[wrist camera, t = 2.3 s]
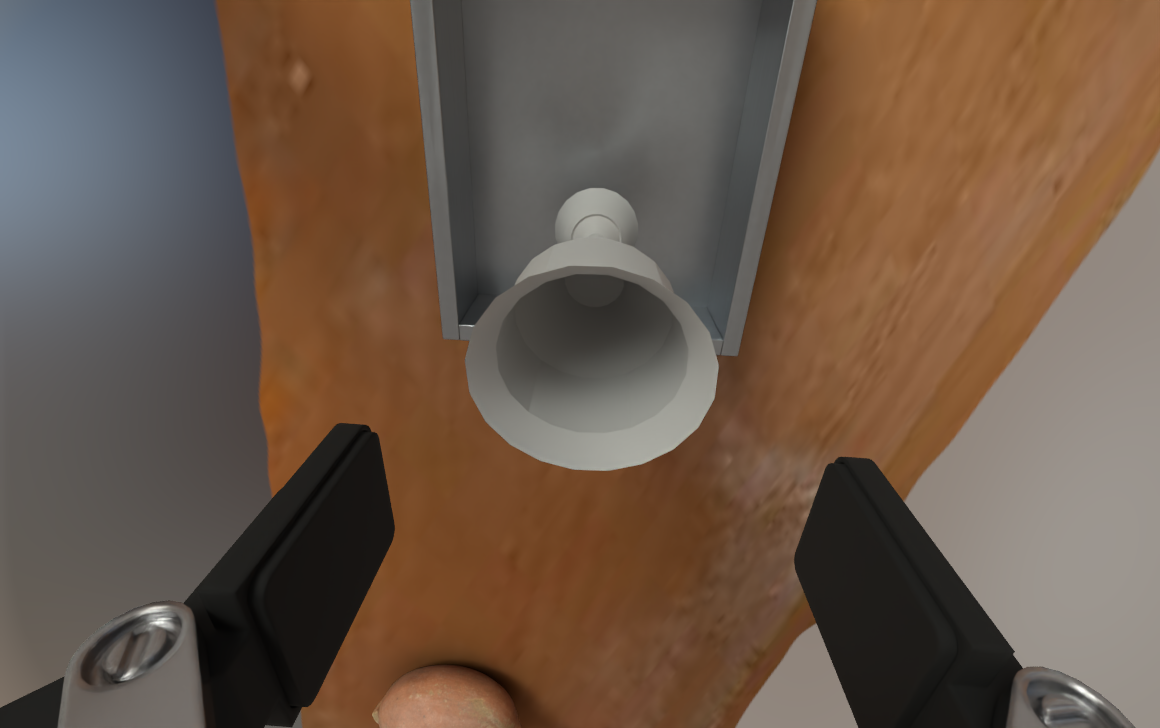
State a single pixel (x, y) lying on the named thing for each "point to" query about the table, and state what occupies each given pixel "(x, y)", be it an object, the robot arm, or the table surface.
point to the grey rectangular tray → (606, 136)
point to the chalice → (592, 348)
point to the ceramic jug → (446, 700)
